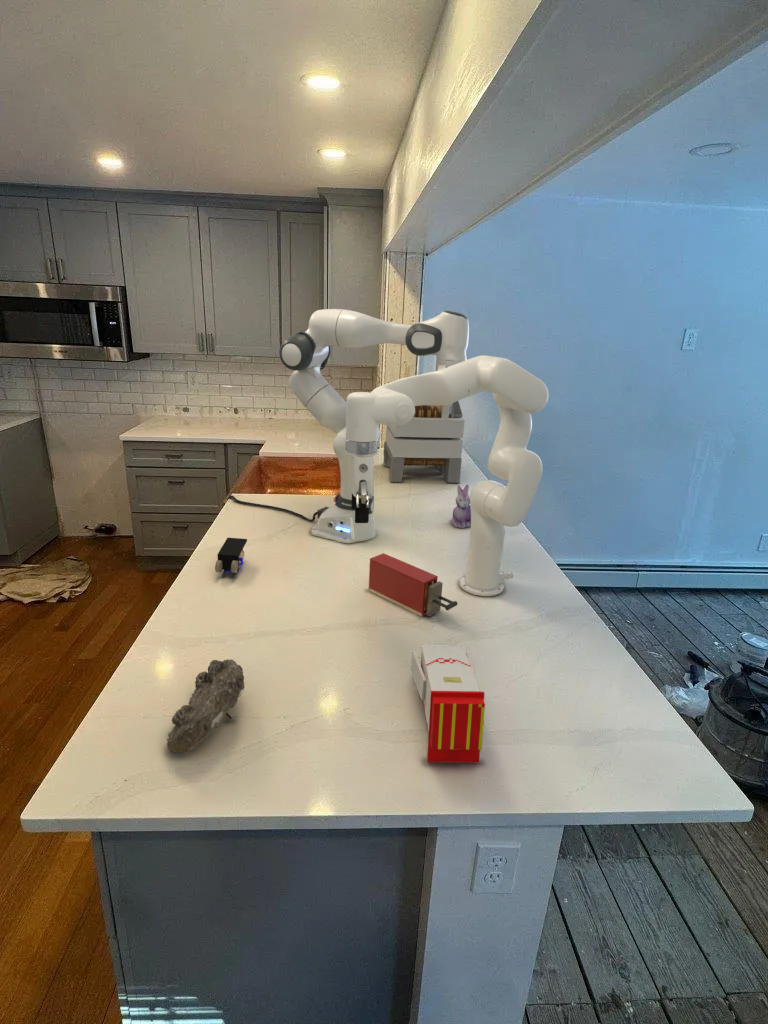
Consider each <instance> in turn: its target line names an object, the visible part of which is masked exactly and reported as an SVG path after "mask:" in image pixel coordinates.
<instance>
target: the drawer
mask: <svg viewBox="0 0 768 1024" xmlns="http://www.w3.org/2000/svg"><path fill="white" fill-rule="evenodd" d="M443 583H444V582H442V581H441V580H440V581H437V583H435V584H434V581H431V582H429V583H427V584H426V588H425V601H424V611H426V610H427V614H426V616H428V617H431V616H433V615H436V614H437V613H439V612H440V611H441V607H443V608H444V609H445V610H446V611H449V610H451V609H453V608H455V607H457V606H458V601H457V600H454V601H453V600H451V599H448V598H446V597H444V596H443V595H442V594H443ZM442 601H443V602H446V603H448V604H446V603H443V602H442Z"/></svg>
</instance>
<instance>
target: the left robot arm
mask: <svg viewBox="0 0 768 1024" xmlns="http://www.w3.org/2000/svg"><path fill="white" fill-rule="evenodd" d="M469 337H470V324H469V319H468V317H467V316H466V314H463V313H461V312H456V311H451V310H443V311H442V312H441V313H439V314H438V315H436V316H434V317H431V318H429V319H427V320H423V321H420V322H419V321H418V322H416V323H414V324H408V323H398V322H391V321H387V320H383V319H380V318H378V317H377V318H376V317H374V316H371V315H368V314H366V313H362V312H360V311H359V312H358V311H355V310H350V309H342V308H324V309H318V310H317V309H316V310H315V311H313V312H312V314H311V316H310V317H309V320H308V327H307V330H305V331H304V330H300V331H298V332H296V333H294V334H292V335H290V336H288V337H287V338H286V339H284V341H282V343H281V344H280V347H279V350H278V354H279V359H280V361H281V363H282V364H283V366H284V367H285V368H287V369H288V370H290V371H292V373H291V374H290V376H289V378H288V385H289V387H290V389H291V391H292V392H293V394H294V395H295V397H296V399H298V400H299V402H300V403H301V404H302V406H303V407H304V408H305V409H306V410H307V411H308V412H309V413H310V414H311V416H313V417H314V419H315V420H316V421H317V422H318V423H319V425H321V426H323V427H325V428H327V429H329V430H331V431H332V432H333V433H334V434H336V435H335V437H334V439H333V441H332V449H333V452H334V454H335V455H336V457H337V462H338V466H339V473H340V490H339V491H338V492H337V494H336V495H335V496H334V497H333V502H334V504H333V505H331V506H324V507H322V508H318V509H317V511H315V512H314V513H313V514H312V518H311V519H310V518H307V517H306V516H305V515H303V514H301V513H299V512H295V511H293V510H290V509H287V508H284V507H278V506H273V505H269V504H262V503H254V502H249V501H244V500H239V499H237V498H236V497H235V496H234V495H232V494H231V495H229V496H228V499H232V500H233V501H235V502H236V503H238V504H242V505H246V506H247V505H248V506H254V507H260V508H267V509H272V510H278V511H282V512H285V513H289V514H291V515H293V516H296V517H299V518H301V519H303V520H305V521H307V522H310V523H312V522H314V521H315V520H316V519H318V521H317V523H315V524H314V525H313V526H312V528H311V530H310V533H311V536H315V537H319V538H323V539H326V540H330V541H336V542H339V543H343V544H352V543H357V542H365V541H368V540H372V539H373V538H375V537H376V535H377V532H376V528H375V523H374V513H373V512H374V509H375V495H374V496H373V497H371V496H369V494H368V504H369V522H368V523H355V509H352V508H351V502H352V489H351V482H350V455H348V454H346V452H345V447H346V401H347V400H345V399H344V398H343V397H342V396H341V395H340V393H339V392H338V391H336V389H335V388H333V386H332V385H331V384H330V383H329V382H328V380H326V378H325V377H324V376H323V375H322V373H321V370H324V369H325V367H326V365H327V362H328V361H329V358H330V357H331V355H332V351H333V347H339V348H347V349H358V348H366V347H371V346H377V345H383V344H391V345H392V344H393V345H401V346H406V348H407V350H408V351H409V352H410V353H411V354H413V355H415V356H418V357H427V356H436V357H435V359H436V360H435V371H438V370H441V369H444V368H447V367H449V366H452V365H455V364H457V363H460V362H463V361H465V360H468V359H467V350H468V346H469V339H470V338H469ZM435 371H434V372H435ZM441 406H442V419H443V420H447V419H448V417H449V414H451V409H452V404H449V405H441ZM381 437H382V432H381V429H380V427H378V444H379V443H380V440H381ZM316 517H317V518H316Z"/></svg>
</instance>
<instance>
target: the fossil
mask: <svg viewBox="0 0 768 1024" xmlns="http://www.w3.org/2000/svg"><path fill="white" fill-rule="evenodd" d="M243 670H244V669H243V667H242V665H240V664H237V662H236V661H235V660H234V659H232V658H231V659H227V658H226V659H224V660H223V661H222V660H217V659H212V660H211V661H210V663H209V665H208V666H207V671H201V672H199V673H198V674H197V675H196V676H195V680H194V684H195V685H194V687H195V689H194V690H193V693H192V694H191V697H190V698H189V700H188V704H184V705H182V706H181V707H180V709H177V710H176V711H175V713H174V715H173V716H172V718H171V723H172V724H173V727H172V730H171V731H170V732H168V734H167V738H166V741H167V742H166V745H167V749H168V750H169V751H173V752H174V753H176V754H178V753H182V752H188V751H189V752H192V751H193V750H195V748H196V747H197V746H199V744H200V743H201V742H203V741H204V740H205V739H206V738H207V737H208V736H209V735H210V734H211V733H212V732H214V730H215V729H217V727H218V726H219V724H220V722H221V721H222V720H223V719H224V718H225V716H226V717H227V719H229V720H233V717H232V715H230V714H229V710H230V709H231V708H234V706H235V704H236V703H237V702H238V699H239V697H240V695H241V693H242V691H243V690H245V689H244V688H245V675H244V671H243Z"/></svg>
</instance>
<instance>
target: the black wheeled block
mask: <svg viewBox="0 0 768 1024" xmlns="http://www.w3.org/2000/svg"><path fill="white" fill-rule="evenodd" d="M247 542H248V538H240V537H226V539H225V541H224V543H223V544H222V546H221V547H220V549H219V551H218V552H217V560H216V562H215V564H214V572H215V573H221V577H222V578H224V577H225V576H226V574H227V573H230V574H231V573H232V574H231V578H234V577H235V575H236V573H237V572H239V571H240V567H242V566H243V565H244V564H245V562H244V558H245V551H244V547H245V546H246V544H247Z"/></svg>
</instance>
